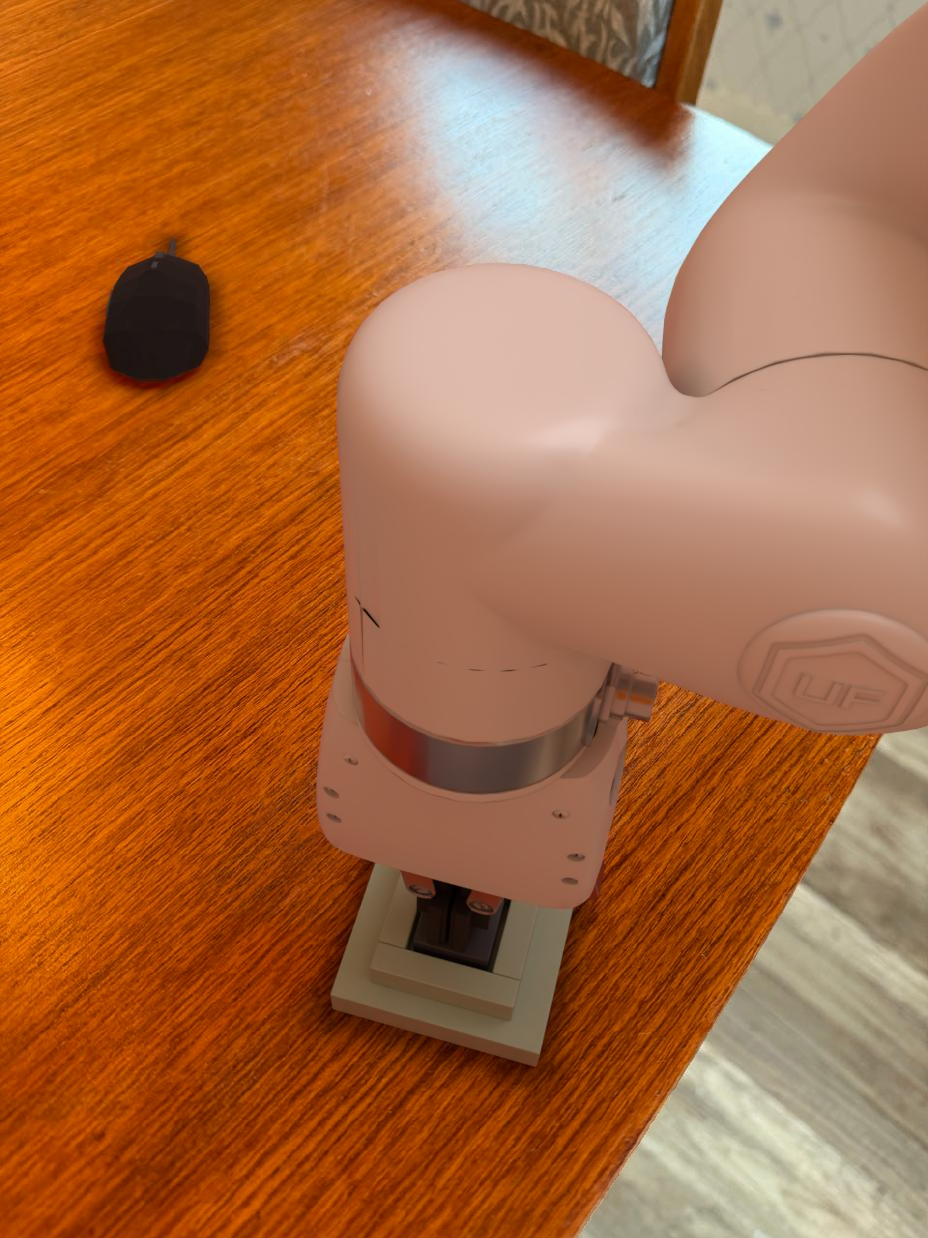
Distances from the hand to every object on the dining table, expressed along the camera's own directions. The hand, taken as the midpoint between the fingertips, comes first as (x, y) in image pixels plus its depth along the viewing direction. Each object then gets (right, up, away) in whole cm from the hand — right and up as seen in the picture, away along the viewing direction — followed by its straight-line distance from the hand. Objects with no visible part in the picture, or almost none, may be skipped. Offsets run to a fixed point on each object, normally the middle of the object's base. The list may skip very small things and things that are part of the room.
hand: (455, 914), depth 50 cm
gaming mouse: (-19, +32, +28) cm, 47 cm away
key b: (0, -1, +1) cm, 2 cm away
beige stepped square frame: (0, -2, +3) cm, 4 cm away
